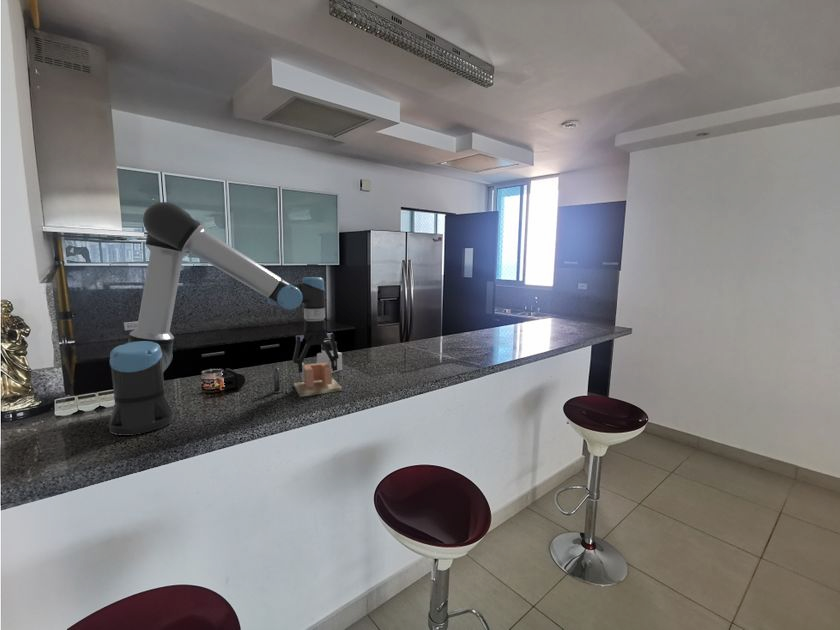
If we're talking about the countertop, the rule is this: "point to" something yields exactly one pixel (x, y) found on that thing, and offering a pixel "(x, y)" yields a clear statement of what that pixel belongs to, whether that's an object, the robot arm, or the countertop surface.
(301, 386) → the board
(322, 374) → the c link
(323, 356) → the container
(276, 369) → the stand
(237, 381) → the end cap
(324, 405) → the countertop surface
